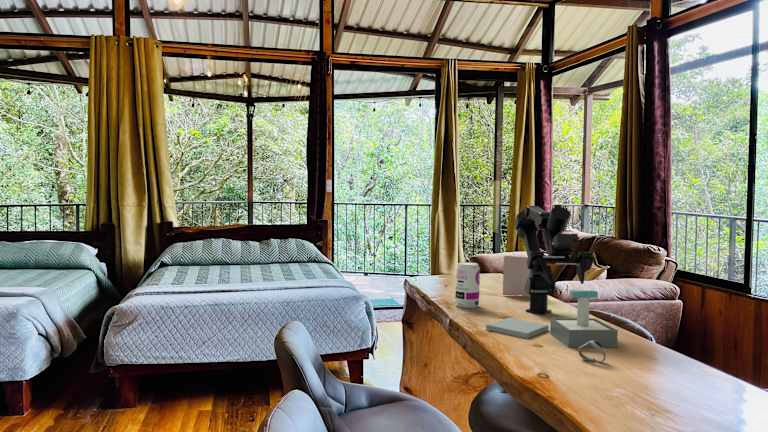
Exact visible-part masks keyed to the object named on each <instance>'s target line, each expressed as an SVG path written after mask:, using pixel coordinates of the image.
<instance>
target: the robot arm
mask: <svg viewBox="0 0 768 432" xmlns="http://www.w3.org/2000/svg"><path fill="white" fill-rule="evenodd" d="M550 210H551V211H547V210H544V209H543V208H541V207H540V206H538V205H526V206H525V207H524V208H523V210H521V212H519V213H518V214H516V216H515V220H514V225H513V226H514V229H515V231H516V233H517V236H519V237H520V238H521V239H522V240H523V242H524V248H525V250H526V254H527V255H526V257H528V260H527V267H528V269H529V270H530V273H529V276H528V278H527V281H526V284H525V292H526V293H527V294H528V295H530V296H529V308H528V309H525V312H527V313H532V314H537V315H546V314H548V313H551V312H552V310H551V309H548V303H549V302H548V299H549V295H551V296H553V295H554V294H555V289H556V284H557V280H556V279H555V277H554V273H553V271H552V267H551V266H550V265H574V266H575V269H576V271H575V273H576V275H577V277H578V280H579V282H580V284H581V285H583V284H584V282H585V275H586V272H587V271H590V270H591V269H592V268H591V267H592V266H593V264H594V261H595V259H596V257H595V255H594V253H593V252H591V251H579V252H578V253H577V256H570V254H572V247H577V246H578V245H579V243H580V238H579V235H578V233H563V232H565V231H566V229H567V226H568V224H569V221H570V218H571V211H569V210H568V209H567V208H565V207H562V205H561V204H554V205H553V207H552V209H550ZM539 230H541V231H542V233H541V235H542V242H544V246H545V248H546V249H545V252H544V251H543V250H541V248H540V244H539V240H538V236H537V235H538V231H539ZM545 254H546V255H545Z"/></svg>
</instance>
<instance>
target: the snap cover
mask: <svg viewBox="0 0 768 432" xmlns="http://www.w3.org/2000/svg"><path fill="white" fill-rule="evenodd" d="M569 297H571V298H577V304H576V305H577V307H576V308H577V311H576V318H577V320H556V321H558V322H559V323H561V324H562V325H564V326H565V327H567V328H568V329H570V330H610V329H609V328H607V327H605V326H603V325H601V324H599V323H597V322H596V321H594V320H589V318H590V298H599V291H597V290H569Z"/></svg>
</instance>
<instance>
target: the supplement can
mask: <svg viewBox="0 0 768 432" xmlns="http://www.w3.org/2000/svg"><path fill="white" fill-rule="evenodd" d="M480 273H481V267H480V265H479V264H478V262H466V261H462V262H458V263H457V265H456V267H455V301H454V303H455V305H456V307H458V308H463V309H474V308H478V306H479V305H480V282H481V281H480V280H481V279H480V277H481V274H480Z"/></svg>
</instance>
